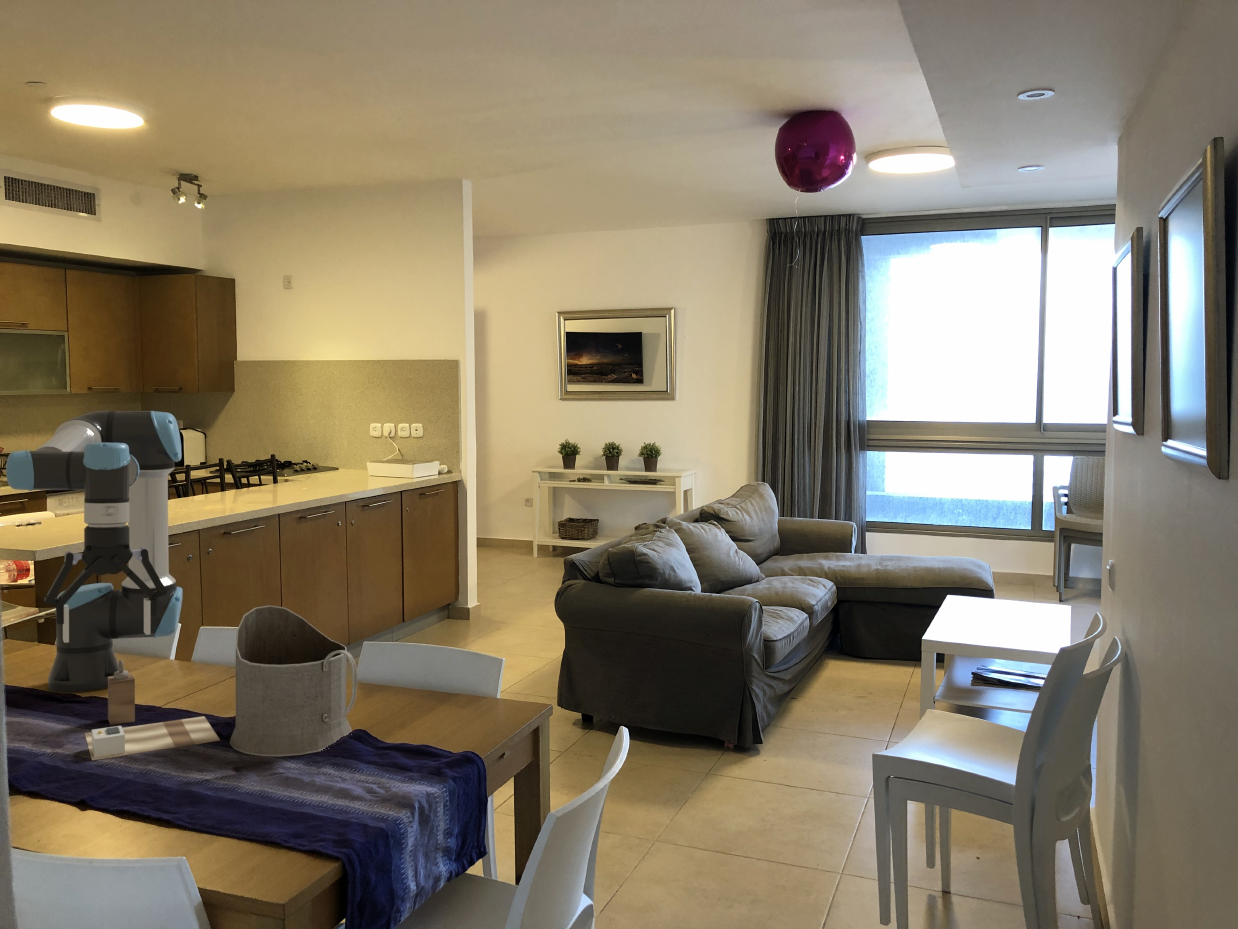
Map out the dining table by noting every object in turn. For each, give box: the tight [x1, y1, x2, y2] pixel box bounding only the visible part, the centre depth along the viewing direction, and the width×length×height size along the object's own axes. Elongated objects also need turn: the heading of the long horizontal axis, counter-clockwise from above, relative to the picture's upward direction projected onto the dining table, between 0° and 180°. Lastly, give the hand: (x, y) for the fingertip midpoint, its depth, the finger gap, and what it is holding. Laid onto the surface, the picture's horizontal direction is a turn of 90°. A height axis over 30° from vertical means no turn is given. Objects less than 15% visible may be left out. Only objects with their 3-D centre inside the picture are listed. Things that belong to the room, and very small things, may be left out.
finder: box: [91, 725, 125, 758], centre depth 181 cm, size 6×5×4 cm
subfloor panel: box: [84, 716, 221, 761], centre depth 189 cm, size 17×22×1 cm
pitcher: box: [229, 605, 358, 757], centre depth 192 cm, size 23×32×25 cm
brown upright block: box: [107, 659, 136, 726], centre depth 198 cm, size 4×4×14 cm
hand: (107, 637), depth 181 cm, fingers open, 13 cm apart
